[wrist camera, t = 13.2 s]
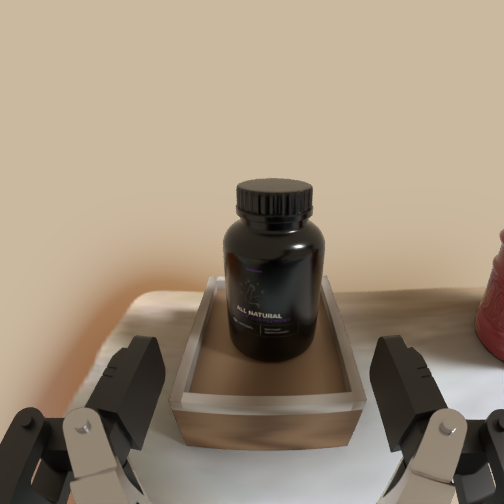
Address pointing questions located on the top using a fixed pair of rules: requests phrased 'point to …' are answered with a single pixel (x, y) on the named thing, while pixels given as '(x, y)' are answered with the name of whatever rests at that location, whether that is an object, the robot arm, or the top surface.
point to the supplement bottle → (273, 270)
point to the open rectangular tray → (266, 385)
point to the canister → (493, 308)
